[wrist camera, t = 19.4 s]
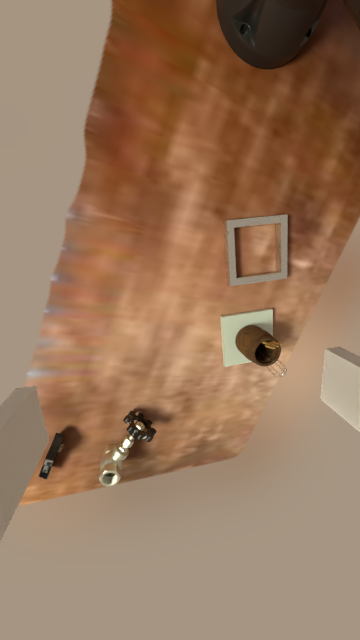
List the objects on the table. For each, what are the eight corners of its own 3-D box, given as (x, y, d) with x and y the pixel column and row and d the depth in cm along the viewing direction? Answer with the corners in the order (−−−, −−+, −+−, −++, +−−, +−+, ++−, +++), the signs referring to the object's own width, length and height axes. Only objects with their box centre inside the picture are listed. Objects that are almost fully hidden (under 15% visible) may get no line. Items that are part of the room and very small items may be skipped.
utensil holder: (239, 358, 49) (271, 390, 37) (229, 330, 47) (259, 354, 36) (266, 345, 49) (306, 373, 38) (257, 317, 47) (296, 337, 36)
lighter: (62, 449, 51) (49, 481, 47) (50, 447, 51) (37, 479, 47) (68, 435, 46) (54, 471, 42) (55, 432, 45) (40, 468, 41)
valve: (121, 464, 52) (155, 420, 50) (119, 494, 45) (157, 444, 44) (92, 452, 50) (127, 405, 49) (86, 480, 44) (125, 428, 42)
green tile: (220, 315, 47) (222, 317, 46) (270, 308, 48) (272, 309, 47) (223, 364, 50) (225, 366, 49) (270, 356, 51) (273, 358, 50)
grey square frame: (223, 221, 43) (226, 220, 41) (281, 215, 44) (287, 214, 43) (226, 284, 46) (230, 286, 44) (281, 277, 47) (287, 278, 46)
